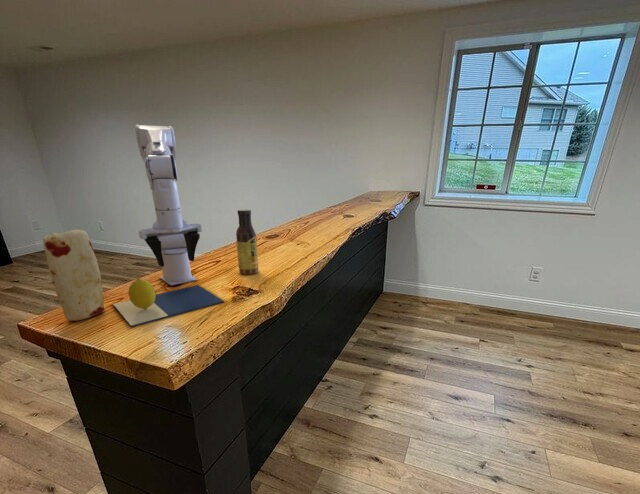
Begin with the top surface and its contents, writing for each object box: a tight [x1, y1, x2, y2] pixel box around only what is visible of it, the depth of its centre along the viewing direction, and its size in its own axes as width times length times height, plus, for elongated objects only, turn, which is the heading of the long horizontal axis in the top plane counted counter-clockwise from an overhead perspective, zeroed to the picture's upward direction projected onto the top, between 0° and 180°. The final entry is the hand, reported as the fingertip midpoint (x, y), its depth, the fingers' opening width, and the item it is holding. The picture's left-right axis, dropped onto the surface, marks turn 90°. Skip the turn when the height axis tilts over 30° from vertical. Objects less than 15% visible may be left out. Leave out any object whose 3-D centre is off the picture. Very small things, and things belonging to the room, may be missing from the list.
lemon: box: [128, 277, 156, 310], centre depth 82 cm, size 6×6×8 cm
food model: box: [42, 229, 105, 322], centre depth 78 cm, size 10×7×20 cm
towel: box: [112, 284, 225, 328], centre depth 88 cm, size 16×22×1 cm
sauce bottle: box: [235, 208, 259, 276], centre depth 109 cm, size 6×6×20 cm
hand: (176, 263), depth 90 cm, fingers open, 7 cm apart
